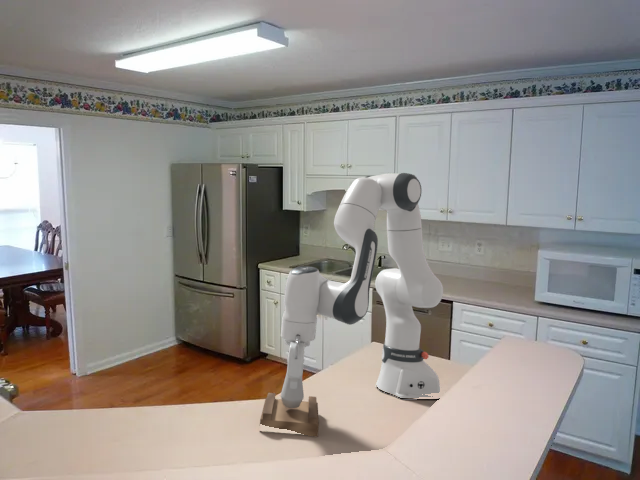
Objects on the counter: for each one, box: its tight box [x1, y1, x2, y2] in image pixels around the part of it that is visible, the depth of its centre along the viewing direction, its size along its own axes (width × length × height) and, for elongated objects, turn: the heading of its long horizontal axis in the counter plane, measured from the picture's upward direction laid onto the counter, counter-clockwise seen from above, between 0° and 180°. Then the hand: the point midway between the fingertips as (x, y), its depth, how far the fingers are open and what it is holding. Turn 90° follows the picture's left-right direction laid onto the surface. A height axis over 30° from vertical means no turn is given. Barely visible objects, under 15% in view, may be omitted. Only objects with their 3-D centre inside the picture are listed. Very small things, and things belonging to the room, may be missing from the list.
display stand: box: [259, 392, 320, 438], centre depth 118 cm, size 14×14×4 cm
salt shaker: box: [280, 354, 305, 408], centre depth 118 cm, size 6×6×13 cm
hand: (293, 384), depth 118 cm, fingers closed on salt shaker, 3 cm apart
